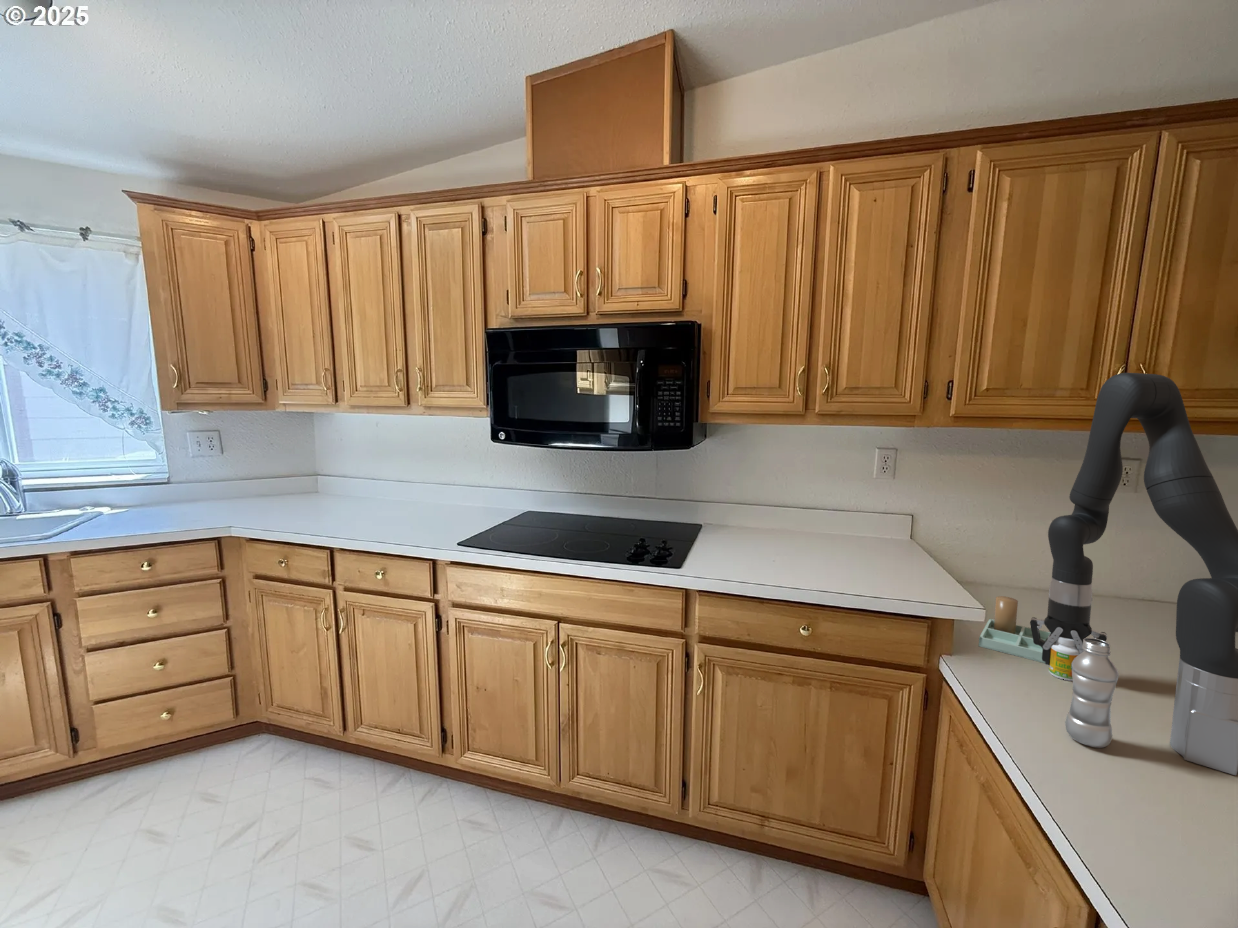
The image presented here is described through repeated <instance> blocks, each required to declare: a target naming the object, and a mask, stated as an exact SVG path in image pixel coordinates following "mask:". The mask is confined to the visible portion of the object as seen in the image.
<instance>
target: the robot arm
mask: <svg viewBox="0 0 1238 928" xmlns="http://www.w3.org/2000/svg"><path fill="white" fill-rule="evenodd" d="M1186 410H1187V409H1186V406H1185V403H1184V399H1183V397H1182V394H1181V391H1180V388H1179V387H1178V386H1177V384H1176V383H1175V381H1173V379H1171V378H1170V377H1167V376H1165V375H1162V374H1156V373H1139V372H1121V373H1118V374H1114V375H1112V376H1110V378H1108V379H1107V380H1105V382H1104V383H1103V384H1102V386H1101V387H1100V389H1099V393H1098V394H1097V399H1096V403H1095V407H1094V411H1093V416H1092V421H1091V426H1090V430H1089V431H1090V432H1089V434H1088V435H1089V436H1088V440H1087V441H1088V442H1087V445H1086V449H1085V453H1084V454H1085V455H1084V458H1083V460H1082V463H1081V466H1080V469H1079V471H1078V473H1077V475H1076V478H1075V480H1074V482H1073V485H1072V487H1071V489H1070V493H1069V496H1068V498H1069V501H1070V502H1071V503H1072V504H1074V507H1073V509H1072V510H1073V511H1072V513H1071V514H1066V515H1060V516H1057V517H1056V518H1054V519H1053V520H1052V521H1051V523H1050V524H1049V526H1048V530H1047V537H1048V543H1049V547H1050V553H1051V557H1052V561H1053V562H1052V568H1051V569H1052V571H1051V580H1050V583H1049V590H1048V601H1047V602H1048V604H1047V612H1046V613H1047V614H1046V615H1047V616H1046V617H1045V618H1044V619H1043V618H1041V619H1040V618H1037V617H1034V616H1032V617H1031V618H1030V620H1029V621H1030V622H1029V625H1030V628H1031V631H1032V637H1033V642H1034V644H1036V645H1039V646H1041V647H1042V649H1043V651H1042V660H1043V661H1044V662H1045V663H1044V664H1045V665H1046V666H1049V660H1050V647H1051V645H1052V644H1053V643H1054V642H1055V641H1056V639H1057V638H1058V637H1064V638H1068V639H1073V640H1074V641H1075V644H1076V646H1077V648H1078V650H1079V652H1080V654H1081V653H1082V652H1084V650H1083V649H1082V645H1083V640H1084V638H1089V636H1090V635H1091V636H1092V638H1094V639H1099V640H1102V641H1105V642H1107V638H1108V634H1107V633H1106V632H1105V631H1101V632H1100V631H1097V630H1095V629H1093V627H1092V626H1091V625H1090V622H1091V612H1092V611H1091V610H1092V602H1093V587H1092V584H1093V574H1094V563H1093V560H1092V559H1091V558H1089V557H1088V556H1085V552H1084V545H1090V544H1093V543H1095V542H1097V541H1099V540H1100V538H1102V536H1103V534H1105V531H1106V529H1107V524H1108V520H1109V515H1110V504H1111V502H1112V500H1113V499H1114V498H1115V497H1114V496H1115V494H1116V492H1117V490H1118V488H1119V486H1120V483H1121V480H1122V477H1123V472H1124V471H1123V470H1124V468H1123V467H1124V466H1123V459H1122V451H1121V442H1122V437H1123V433H1124V431H1125V429H1126V426H1127V425H1128V423H1129V422H1130V420H1131V419H1137V420H1138V422H1139V423H1140V424H1141V427H1142V428H1143V431H1144V434H1145V435H1146V438H1147V441H1148V446H1149V447H1148V448H1149V449H1148V450H1149V451H1148V456H1147V460H1146V463H1145V468H1144V472H1143V483H1144V486H1145V490H1146V492H1147V495H1148V496H1149V500H1150V502H1151V504H1152V506H1153V509H1154V511H1155V512H1156V515H1157V516H1158V517H1159V518H1160V520H1162V521H1163V522H1164V523H1165V525H1167V527H1168V528H1170V529H1171V530H1172V531H1173V532H1175V533H1176V534H1177V535H1178V536H1179V537H1180V538H1182V539H1183V540H1184V541H1185V542H1187V543H1188V544H1189V546H1191V547H1192V548H1193V549H1194V550H1195V551H1196V552H1197V554H1198V555H1199V556H1200V558H1201V559H1202V562H1204V564H1205V566H1206V568H1207V570H1208V573H1209V575H1210V577H1206V578H1204V577H1203V578H1201V577H1200V578H1194V579H1190V580H1187V581H1186V582H1185V583H1184V584H1183V585H1182V586H1181V587H1180V589H1179V591H1178V595H1177V599H1176V614H1175V616H1176V618H1175V620H1176V621H1175V639H1176V642H1177V645H1178V648H1179V659H1178V660H1179V661H1178V667H1177V668H1178V670H1177V678H1176V686H1175V695H1174V702H1173V703H1174V704H1173V709H1172V710H1173V712H1172V720H1171V731H1170V739H1169V740H1170V741H1169V745H1170V747H1171V748H1172V749H1173V750H1174V751H1175V752H1177V753H1178V754H1179V755H1181V756H1182V757H1183V760H1185V761H1188V762H1190V763H1194V764H1197V765H1200V766H1202V767H1203V766H1204V767H1208V768H1210V769H1213V770H1216V771H1219V772H1223V773H1226V774H1229V775H1232V776H1237V775H1238V648H1236V633H1238V528H1237V525H1236V524H1235V521H1234V520H1233V518H1232V516H1231V513H1230V512H1229V510H1228V508H1227V505H1226V503H1225V501H1224V497H1223V496H1222V495H1223V494H1222V493H1221V491H1220V488H1219V486H1218V484H1217V482H1216V480H1215V477H1214V476H1213V474H1212V472H1211V470H1210V468H1209V466H1208V464H1207V462H1206V460H1205V458H1204V456H1203V453H1202V450H1201V448H1200V447H1199V445H1198V441H1197V440H1196V438H1195V435H1194V432H1193V430H1192V427H1191V424H1190V420H1189V418H1188V414H1187V411H1186ZM1043 625H1045V627H1046V628H1047V630H1048V632H1051V633H1050V634H1049V636H1048V638H1047V639H1046V640H1045V641H1044V640H1042V639H1041V638H1040V632H1039V630H1041V629H1042V627H1043Z"/></svg>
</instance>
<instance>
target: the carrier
mask: <svg viewBox="0 0 1238 928" xmlns="http://www.w3.org/2000/svg"><path fill="white" fill-rule="evenodd" d="M994 621H995V619H993V618H988V621H987V622H986V624H985V626H984V628H983V630H982V632H981V633H980V636H979V637H978V647H981V648H984V649H987V650H992V651H996V652H1000V653H1004V654H1007V655H1012V656H1015V657H1019V658H1022V659H1023V658H1024V659H1027V660H1031V661H1035V662H1039V663H1043V664H1045V662H1044V661H1043V660H1042V651H1043V649H1042V647H1041V646H1039V645H1036V644H1034V642H1033V637H1032V631H1031V627H1028V626H1023V625H1019V624H1016V633H1015V634H1012V633H1007V632H1003V631H999V630H994ZM1039 632H1040V638H1041V639H1042V640H1044V641H1045V640H1046V639H1047V638H1048V636H1049V634H1050V633H1051V632H1050V631H1046V630H1042V629H1039Z"/></svg>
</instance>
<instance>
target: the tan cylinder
mask: <svg viewBox="0 0 1238 928" xmlns="http://www.w3.org/2000/svg"><path fill="white" fill-rule="evenodd" d="M1018 602H1019V601H1018V599H1016V598H1013V597H1010V596H1002V595H1001V596H1000V595H999V596H996V597H995V608H994V620H995V621H994V630H999V631H1003V632H1007V633H1012V634H1015V633H1016V625H1017V618H1018V606H1019V605H1018V604H1019V603H1018Z"/></svg>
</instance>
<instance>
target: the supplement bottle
mask: <svg viewBox="0 0 1238 928" xmlns="http://www.w3.org/2000/svg"><path fill="white" fill-rule="evenodd" d="M1079 654H1080V652H1079V650H1078V648H1077V646H1076V644H1075V641H1074V640H1073V639H1068V638H1064V637H1058V638H1057V639H1056V641H1055V642H1054V643H1053V644H1052V645H1051V647H1050V660H1049V665H1048V673H1049V674H1050V675H1052V676H1053V677H1054V678H1057V679H1060V680H1063V679H1064V681H1069V682H1070V681H1071V682H1073V678H1072V661H1073V660H1074V658H1075V657H1077V656H1078V655H1079Z"/></svg>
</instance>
